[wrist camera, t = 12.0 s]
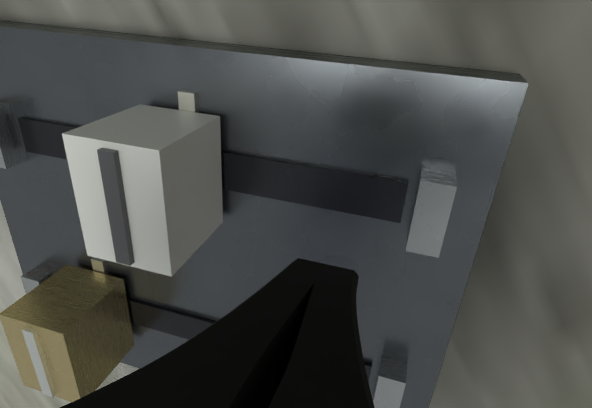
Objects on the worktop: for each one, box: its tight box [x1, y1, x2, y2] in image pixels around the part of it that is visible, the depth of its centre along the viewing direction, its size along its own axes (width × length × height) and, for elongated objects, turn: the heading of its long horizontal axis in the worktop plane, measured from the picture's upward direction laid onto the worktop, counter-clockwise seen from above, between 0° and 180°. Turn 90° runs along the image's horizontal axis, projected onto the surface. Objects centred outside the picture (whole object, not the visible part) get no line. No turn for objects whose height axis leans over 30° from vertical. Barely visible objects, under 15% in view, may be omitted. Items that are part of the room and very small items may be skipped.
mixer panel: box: [0, 20, 529, 408], centre depth 17 cm, size 16×20×2 cm
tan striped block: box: [0, 264, 134, 402], centre depth 18 cm, size 4×3×4 cm
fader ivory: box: [62, 104, 223, 277], centre depth 13 cm, size 4×3×4 cm
